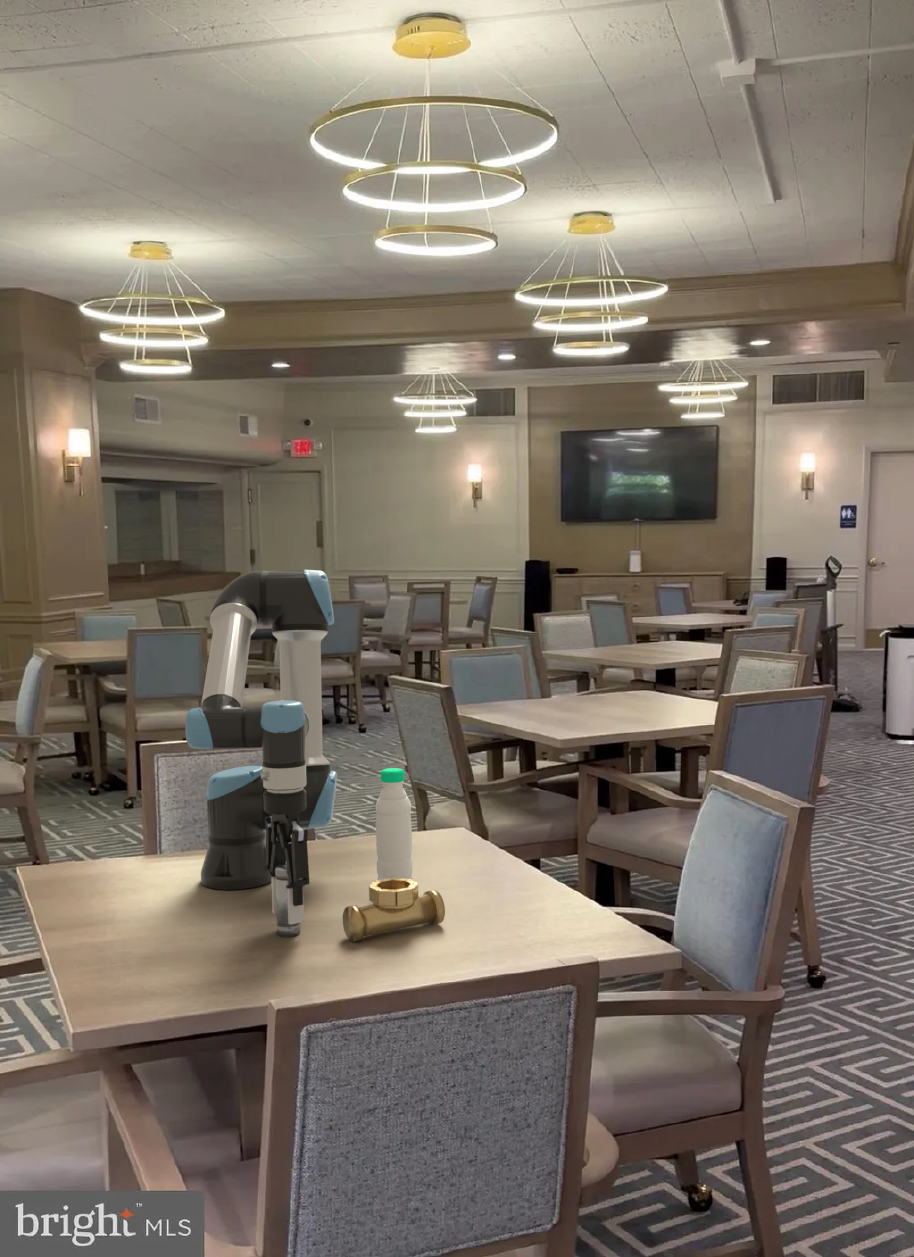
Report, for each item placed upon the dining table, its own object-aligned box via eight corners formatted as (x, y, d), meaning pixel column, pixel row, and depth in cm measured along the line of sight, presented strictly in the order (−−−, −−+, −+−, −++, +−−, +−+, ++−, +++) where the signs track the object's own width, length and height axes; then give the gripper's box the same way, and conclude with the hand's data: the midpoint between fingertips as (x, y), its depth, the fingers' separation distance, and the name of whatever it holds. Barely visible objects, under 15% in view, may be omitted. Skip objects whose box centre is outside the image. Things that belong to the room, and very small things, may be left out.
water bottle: (408, 900, 220) (405, 773, 219) (373, 899, 222) (370, 772, 220) (416, 890, 227) (414, 766, 226) (382, 888, 229) (380, 765, 227)
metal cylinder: (273, 932, 203) (271, 866, 202) (294, 928, 205) (292, 862, 204) (282, 939, 199) (280, 871, 198) (303, 934, 201) (302, 867, 201)
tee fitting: (361, 947, 194) (360, 898, 193) (340, 934, 201) (339, 887, 200) (448, 929, 203) (447, 882, 202) (425, 917, 210) (424, 871, 209)
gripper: (244, 782, 207) (248, 907, 208) (286, 800, 190) (290, 936, 192) (282, 778, 211) (286, 900, 212) (327, 795, 194) (330, 928, 195)
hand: (288, 917), depth 202 cm, fingers open, 6 cm apart
